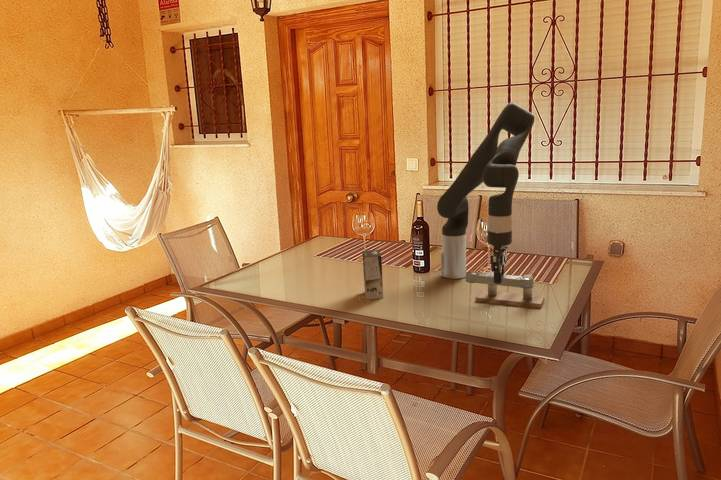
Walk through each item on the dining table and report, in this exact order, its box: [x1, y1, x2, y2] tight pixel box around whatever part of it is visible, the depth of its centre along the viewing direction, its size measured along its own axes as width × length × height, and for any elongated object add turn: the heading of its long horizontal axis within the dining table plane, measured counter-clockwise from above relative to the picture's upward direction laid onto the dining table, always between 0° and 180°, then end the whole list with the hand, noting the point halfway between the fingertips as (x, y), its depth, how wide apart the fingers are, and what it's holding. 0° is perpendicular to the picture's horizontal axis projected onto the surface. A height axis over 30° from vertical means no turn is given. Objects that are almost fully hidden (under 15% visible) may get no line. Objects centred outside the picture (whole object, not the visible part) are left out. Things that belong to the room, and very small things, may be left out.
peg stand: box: [475, 271, 545, 309], centre depth 202 cm, size 22×8×10 cm, turn 65°
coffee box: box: [362, 249, 384, 300], centre depth 214 cm, size 9×6×16 cm
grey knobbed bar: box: [465, 270, 535, 289], centre depth 186 cm, size 21×4×2 cm, turn 65°
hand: (498, 281), depth 186 cm, fingers closed on grey knobbed bar, 3 cm apart
